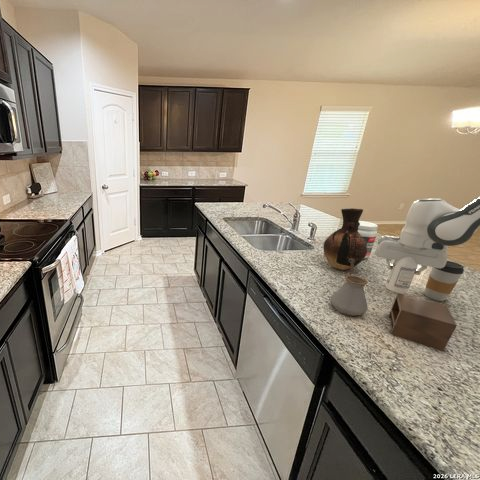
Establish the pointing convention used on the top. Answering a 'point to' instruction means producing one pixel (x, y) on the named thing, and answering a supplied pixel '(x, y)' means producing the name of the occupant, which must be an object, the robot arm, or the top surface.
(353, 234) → the ceramic vessel
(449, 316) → the shelf
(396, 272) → the bath foam
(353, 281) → the coffee pot
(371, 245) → the supplement tub
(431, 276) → the coffee cup
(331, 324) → the top surface
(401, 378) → the top surface
